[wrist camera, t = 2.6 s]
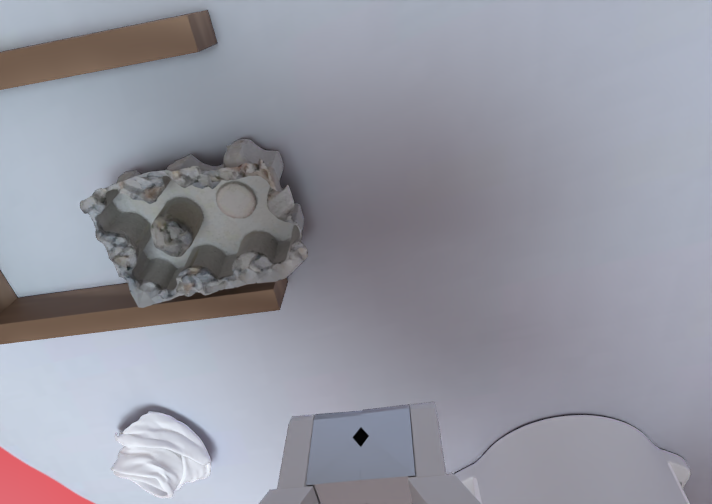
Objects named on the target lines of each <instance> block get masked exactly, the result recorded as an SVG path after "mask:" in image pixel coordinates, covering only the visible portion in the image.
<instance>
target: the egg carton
mask: <svg viewBox="0 0 712 504" xmlns="http://www.w3.org/2000/svg"><path fill="white" fill-rule="evenodd" d="M283 168H284V167H283V161H282V158H281V155H280V153H279V151H269V150H264V149H262V148H260V147H259V146H257V145H256V144H255V143H254V142H253V141H252V140H249V139H239V140H237V141H235V142H233V143H232V144H231V145H228V146H227V151H226V153H225V154H224V164H222V165H219V166H210V165H207V164H203V163H202V162H200V161H199V160H198V159H196V158H195V157H194V156H192V155H191V154H190V155H188V156H186V157H184V158H182V159H179V160H176V161H175V163H173V164H171V165H169V166H168V167H167V169H166V170H163V171H152V172H147V173H144V174H140V173H139V172H138V171H137V170H135V171H127V172H125V173H124V174H122V175H121V176H120V177H119V179H118V181H117V183H115V184H112V185H111V186H109V187H107V188H105V189H102V188H100V189H97V190H96V191H95V192H94V193H93V195H92V196H91V197H89V198H87V199H86V200H84V201H81V202H80V208H81V210H82V211H83V212H84V213H88V214H89V215H90V217H91V218H92V220H93V222H94V225H95V228H96V238H97V240H98V241H100V242H102V243H103V244H104V245H105V247H106V249H107V252H108V256H109V259H110V260H111V261H112V262H113V263H114V265H115V268H116V270H117V272H118V275H119V277H122V278H124V279H126V281H127V282H128V286H129V290H130V292H131V295H132V297H133V298H134V300H135V302H136V304H137V306H138V307H139V308H144V307H147V306H150V305H154V304H157V303H161V302H164V301H168V300H172V299H174V298H176V297H178V296H182V295H185V296H187V297H189V296H192V295H193V294H195V293H202V294H203V295H205V296H206V295H209V294H212V293H214V292H217V291H220V290H224V289H231V288H237V287H240V286H243V285H246V284H254V283H267V282H276V281H279V280H282V279H285V278H286V277H288V276H289V275H290V274H292V272H293V271H294V270H295V269H296V268H297V267H298V266H299V265H300V264H301V263H302V262H303V261H304V260H305V259H306V258H307V257H308V251H307V249H306V247H305V246H304V245H303V244H302V243H301V239H302V231H303V224H304V217H303V214H302V210H301V206H300V204H294V200H293V197H292V194H291V190H290V187H289V185H286V186H285V187H284V188H281V185H280V182H279V181H280V178H281V175H282V172H283Z"/></svg>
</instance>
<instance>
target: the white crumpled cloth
mask: <svg viewBox="0 0 712 504" xmlns="http://www.w3.org/2000/svg"><path fill="white" fill-rule="evenodd" d="M115 440H116V441H117V442H119V443H120V444H121V445H123V446H124V447H123V448H122V449H121V450H120V451H119V454H118V457H117V460H116V462H115V463H114V465H113V466H112V468H111V470H112V471H114V472H113V473H114V474H115V475H116V476H117V477H120V478H125V479H129V480H131V481H133V482H134V483H135V484H137V485H138V486H139V487H141V488H142V489H143V490H145V491H146V492H148V493H150V494H152V495H154V496H156V497H159V498H172V497H173V494H174V491H177V490H178V489H180V488H181V487H182V485H184V484H185V483H188V482H195V481H196V480H198V479H205V478H207V477H208V476H209V475H210V472H211V458H210V456H209V454H208V451H207V449H206V447H205V445H204V443H203V442H202V440H201V439H200V438H199V436H198V435H196V434H195V432H194V431H192V430H191V429H190V428H189V427H188V426H187V425H186V424H184V423H182V422H180V421H177V420H176V419H175V418H173V417H172V416H169V415H166V414H163V413H159V412H151V411H149V412H148V413H147V414H145V415H143V416H141V417H140V419H139V420H138V421H137V422H134V423H132V424H131V425H130V426H129V427H128V428H126V429H125V430H124V432H123V433H122V432H121V431H120V432H119V436H117V433H115Z"/></svg>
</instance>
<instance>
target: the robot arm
mask: <svg viewBox="0 0 712 504" xmlns="http://www.w3.org/2000/svg"><path fill="white" fill-rule="evenodd" d="M690 474H691V472H690V469H689V467H688V465H687V463H686V461H685V460H684V459H683V458H682V457H680V456H678V455H676V454H674V453H671V452H668V451H665V450H662V449H659V448H658V447H657V446H655V445H654V444H653V443H652V442H651V441H650V440H649V439H648V438H647V437H646V436H645V435H644V434H643V433H642V432H641V431H639V430H638V429H636V428H635V427H633V426H631V425H629V424H627V423H624V422H622V421H618V420H615V419H611V418H607V417H601V416H591V415H571V416H561V417H554V418H549V419H545V420H541V421H537V422H534V423H531V424H529V425H526V426H523V427H521V428H519V429H517V430H515V431H513V432H511V433H509V434H507V435H506V436H504V437H503V438H501V439H500V440H498V441H497V442H496V443H495V444H494V445H492V446H491V447H490V448H489V449H488V450H487V452H486V453H485V454H484V455H483V456H482V457H481V458H480V459H479V460H478V461H477V462H476V463H474V464H473V465H470V466H468V467H466V468H464V469H462V470H461V471H459V472H457V473H455V474H446V469H445V462H444V456H443V449H442V443H441V436H440V429H439V423H438V416H437V410H436V405H435V402H429V403H420V404H411V405H410V404H408V405H399V406H391V407H382V408H374V409H365V410H362V411H350V412H337V413H325V414H315V415H303V416H292V418H291V420H290V422H289V425H288V430H287V436H286V442H285V447H284V453H283V458H282V464H281V470H280V475H279V481H278V486H277V489H272V490H269V492H268V493H267V494H266V495H265V496H264V498H263V499H262V500H261V501H260V503H259V504H690V502H689V500H688V498H687V496H686V495H685V493H684V491H683V488H684V486H685V484H686V483H687V481H688V479H689V477H690Z"/></svg>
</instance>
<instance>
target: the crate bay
mask: <svg viewBox="0 0 712 504" xmlns="http://www.w3.org/2000/svg"><path fill="white" fill-rule="evenodd" d="M216 43H217V40H216V37H215V33H214V30H213V27H212V23H211V20H210V16H209V13H208V10H206V11H201V12H196V13H191V14H186V15H181V16H176V17H171V18H166V19H161V20H156V21H151V22H146V23H141V24H136V25H131V26H126V27H121V28H116V29H111V30H107V31H102V32H97V33H92V34H87V35H82V36H77V37H72V38H67V39H62V40H57V41H52V42H47V43H42V44H37V45H32V46H27V47H22V48H17V49H12V50H7V51H3V52H0V90H2V89H8V88H13V87H18V86H23V85H29V84H34V83H39V82H44V81H49V80H55V79H60V78H65V77H70V76H75V75H81V74H86V73H91V72H96V71H102V70H107V69H112V68H117V67H122V66H128V65H133V64H138V63H143V62H149V61H154V60H159V59H164V58H169V57H175V56H180V55H185V54H190V53H195V52H199V51H202V50H204V49H206V48H208V47H210V46H212V45H214V44H216ZM287 283H288V281H287V277H286V278H285V279H282V280H279V281H276V282H267V283H254V284H246V285H243V286H240V287H237V288H231V289H224V290H220V291H217V292H214V293H212V294H209V295H206V296H205V295H203V294H202V293H195V294H193V295H192V296H189V297H187V296H185V295H182V296H178V297H176V298H174V299H172V300H168V301H164V302H161V303H157V304H154V305H150V306H147V307H144V308H139V307H138V306H137V304H136V302H135V300H134V298H133V297H132V295H131V292H130V290H129V286H128V283H124V284H117V285H110V286H102V287H95V288H87V289H80V290H73V291H65V292H58V293H50V294H43V295H36V296H28V297H21V298H17V296H16V295H15V293H14V291H13V290H12V288H11V287H10V285H9V284H8V282H7V281H6V279H5V277H4V276H3V274H2V273H1V271H0V344H7V343H15V342H23V341H32V340H40V339H48V338H56V337H64V336H72V335H80V334H88V333H97V332H105V331H113V330H121V329H129V328H137V327H145V326H153V325H161V324H170V323H178V322H186V321H194V320H202V319H210V318H218V317H226V316H234V315H243V314H251V313H259V312H267V311H275V310H280V308H281V304H282V301H283V297H284V293H285V290H286V286H287Z"/></svg>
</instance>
